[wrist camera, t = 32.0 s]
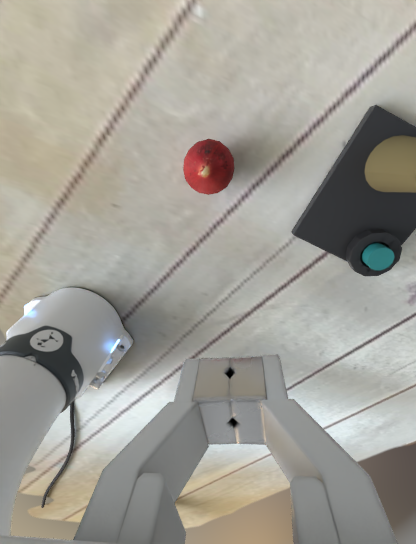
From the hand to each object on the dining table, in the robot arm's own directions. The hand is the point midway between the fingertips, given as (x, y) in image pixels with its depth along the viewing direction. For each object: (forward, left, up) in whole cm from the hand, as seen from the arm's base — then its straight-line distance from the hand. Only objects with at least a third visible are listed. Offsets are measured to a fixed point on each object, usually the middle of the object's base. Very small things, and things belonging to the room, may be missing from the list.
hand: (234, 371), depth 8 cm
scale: (+8, -15, -29) cm, 34 cm away
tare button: (+3, -18, -27) cm, 32 cm away
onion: (+3, +5, -29) cm, 30 cm away
